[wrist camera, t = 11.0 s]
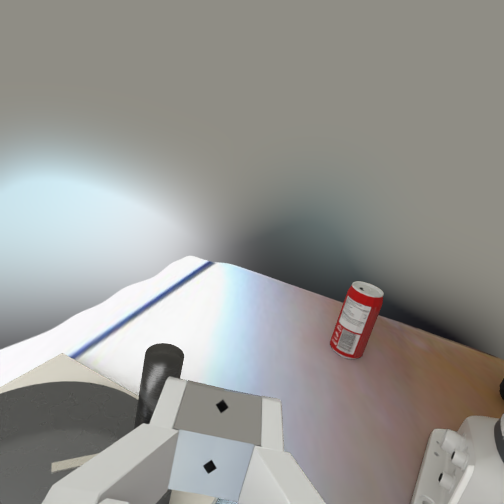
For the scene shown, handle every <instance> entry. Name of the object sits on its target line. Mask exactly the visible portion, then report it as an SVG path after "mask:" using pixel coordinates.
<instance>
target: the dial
mask: <svg viewBox="0 0 504 504" xmlns="http://www.w3.org/2000/svg"><path fill="white" fill-rule="evenodd" d="M183 360H184V354H183V352H182V350H181V349H179V348H178V347H176V346H174V345H171V344H165V343H162V344H155V345H153V346H151V347H149V348H148V349H147V350H146V353H145V359H144V366H143V372H142V379H141V385H140V392H139V399H138V400H137V399H136V398H134V397H132V396H131V395H129V394H127V393H125V392H122V391H120V390H117V389H115V388H112V387H108V386H105V385H100V384H95V383H89V382H78V381H60V382H47V383H41V384H34V385H29V386H25V387H21V388H17V389H13V390H10V391H7V392H3V393H0V504H42V502H43V500H44V499H45V497H46V495H47V494H48V492H49V490H50V489H51V487H52V485H54V484H55V483H56V482H58V481H59V480H61V479H62V478H64V477H65V476H67V475H68V474H70V473H71V472H73V471H74V470H75V469H77V468H78V467H80V466H81V465H83V464H84V463H86V462H87V461H89V460H90V459H92V458H93V457H94V456H96V455H97V454H99V453H100V452H102V451H103V450H105V449H106V448H108V447H109V446H111V445H112V444H114V443H115V442H116V441H118V440H119V439H121V438H122V437H124V436H125V435H127V434H128V433H130V432H131V431H133V430H134V429H135V428H137V427H138V426H140V425H141V424H143V423H145V424H149V423H150V421H151V418H152V416H153V413H154V411H155V408H156V405H157V403H158V400H159V398H160V395H161V393H162V390H163V387H164V385H165V382H166V380H167V379H168V377H169V376H170V377H174V378H179V379H180V375H181V370H182V365H183ZM171 492H172V489H168V490H167V492H166V493H165V494H164V495H163V496H162V497H161V498H160V500H159V501H158V502H157V503H156V504H169V501H170V497H171Z"/></svg>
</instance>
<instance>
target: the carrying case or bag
mask: <svg viewBox="0 0 504 504" xmlns="http://www.w3.org/2000/svg"><path fill="white" fill-rule="evenodd" d="M500 395H501V397H502V399H503V400H504V379H503V381H502V383H501V384H500Z"/></svg>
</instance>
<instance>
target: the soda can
mask: <svg viewBox="0 0 504 504" xmlns="http://www.w3.org/2000/svg"><path fill="white" fill-rule="evenodd" d="M382 301H383V292H382V290H380V289H379V288H377V287H376V286H373V285H371V284H368V283H365V282H360V281H356V282H353V284H352V286H351V287H350V289H349V290H348V292H347V295H346V298H345V301H344V303H343V306H342V309H341V312H340V315H339V318H338V321H337V324H336V326H335V329H334V332H333V335H332V338H331V341H330V345H331V347H332V349H333V350H334V351H335V352H336V353H337V354H338V355H340V356H342V357H344V358H347V359H357V358H359V357H361V356H362V355H363V352H364V350H365V347H366V345H367V342H368V339H369V337H370V334H371V332H372V329H373V327H374V324H375V321H376V319H377V316H378V314H379V311H380V309H381V306H382Z"/></svg>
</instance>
